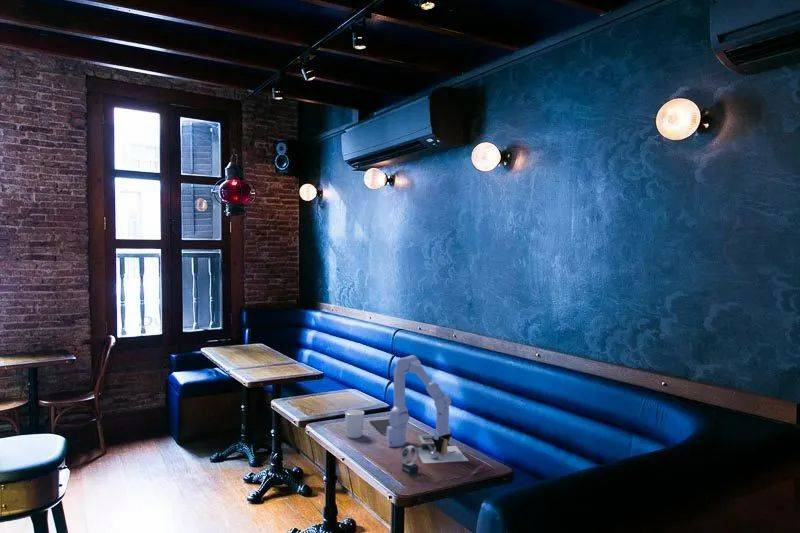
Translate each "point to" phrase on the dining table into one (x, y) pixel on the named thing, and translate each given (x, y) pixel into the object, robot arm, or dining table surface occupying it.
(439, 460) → the crank plate
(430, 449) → the crank
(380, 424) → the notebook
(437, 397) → the robot arm
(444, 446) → the block
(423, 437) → the parts tray
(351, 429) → the candle holder
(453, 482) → the dining table surface
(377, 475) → the dining table surface
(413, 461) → the watch
